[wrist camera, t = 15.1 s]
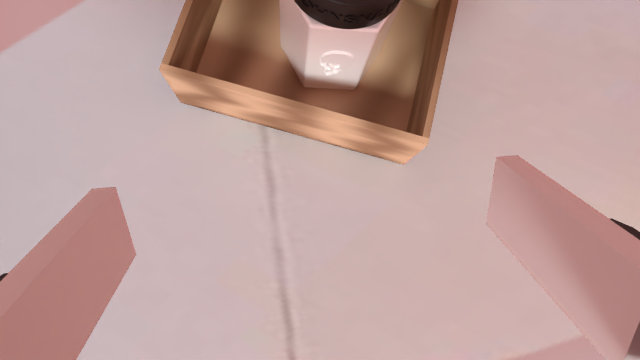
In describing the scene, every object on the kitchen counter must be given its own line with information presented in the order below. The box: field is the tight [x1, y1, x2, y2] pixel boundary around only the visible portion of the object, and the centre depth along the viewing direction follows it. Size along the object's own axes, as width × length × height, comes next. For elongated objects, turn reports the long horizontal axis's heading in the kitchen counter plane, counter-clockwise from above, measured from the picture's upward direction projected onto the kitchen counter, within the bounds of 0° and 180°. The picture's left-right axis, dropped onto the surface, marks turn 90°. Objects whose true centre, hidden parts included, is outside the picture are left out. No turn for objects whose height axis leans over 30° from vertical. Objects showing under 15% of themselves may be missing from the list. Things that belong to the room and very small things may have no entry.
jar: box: [279, 0, 402, 90], centre depth 30 cm, size 9×8×12 cm
